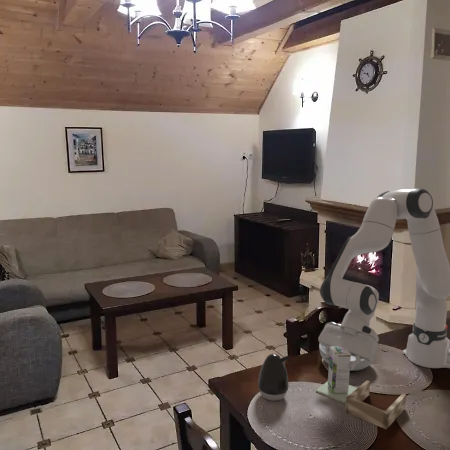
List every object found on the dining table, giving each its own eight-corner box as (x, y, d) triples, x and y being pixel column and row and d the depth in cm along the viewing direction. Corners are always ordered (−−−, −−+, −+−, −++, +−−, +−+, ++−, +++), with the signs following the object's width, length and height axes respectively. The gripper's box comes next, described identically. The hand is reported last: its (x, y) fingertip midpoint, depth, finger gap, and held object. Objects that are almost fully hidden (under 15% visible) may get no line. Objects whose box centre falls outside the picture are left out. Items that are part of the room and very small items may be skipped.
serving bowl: (311, 369, 174) (312, 352, 173) (326, 348, 192) (327, 332, 191) (367, 383, 164) (369, 365, 163) (378, 359, 183) (379, 343, 181)
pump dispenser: (292, 403, 151) (294, 360, 148) (262, 406, 149) (263, 362, 146) (283, 387, 161) (284, 346, 158) (254, 389, 159) (255, 348, 156)
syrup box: (327, 384, 161) (329, 346, 159) (343, 384, 162) (345, 345, 159) (332, 393, 156) (334, 353, 153) (349, 392, 156) (351, 353, 153)
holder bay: (365, 393, 157) (366, 380, 156) (404, 408, 148) (406, 394, 148) (345, 411, 146) (346, 397, 146) (386, 429, 138) (387, 414, 137)
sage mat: (331, 379, 166) (331, 378, 166) (360, 390, 159) (360, 389, 159) (315, 391, 158) (315, 390, 158) (345, 403, 151) (345, 402, 151)
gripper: (324, 316, 167) (309, 350, 161) (379, 332, 153) (364, 370, 148) (330, 324, 171) (315, 358, 165) (383, 340, 157) (369, 377, 152)
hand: (338, 363), depth 157 cm, fingers closed on syrup box, 7 cm apart
